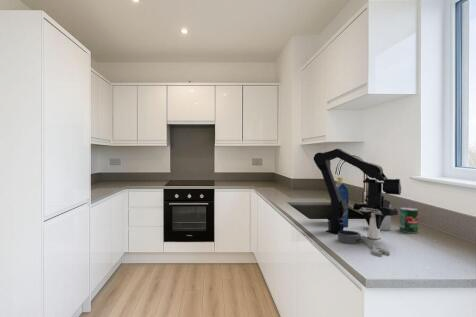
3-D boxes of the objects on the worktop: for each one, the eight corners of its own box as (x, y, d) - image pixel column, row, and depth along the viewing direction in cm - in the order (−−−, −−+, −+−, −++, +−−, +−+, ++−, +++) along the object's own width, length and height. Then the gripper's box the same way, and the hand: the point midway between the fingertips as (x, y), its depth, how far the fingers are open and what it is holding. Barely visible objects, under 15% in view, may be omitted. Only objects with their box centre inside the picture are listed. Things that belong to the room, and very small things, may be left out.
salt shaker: (369, 235, 142) (369, 211, 142) (382, 237, 139) (382, 212, 139) (366, 237, 138) (366, 212, 138) (379, 239, 135) (379, 214, 135)
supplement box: (391, 230, 152) (391, 204, 152) (375, 229, 154) (375, 204, 154) (387, 227, 160) (387, 202, 160) (371, 226, 161) (371, 202, 161)
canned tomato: (405, 228, 157) (405, 206, 157) (421, 231, 150) (421, 209, 150) (396, 230, 153) (396, 208, 153) (412, 233, 146) (412, 210, 146)
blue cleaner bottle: (336, 226, 160) (336, 178, 160) (331, 221, 172) (331, 176, 172) (348, 227, 160) (348, 178, 159) (342, 222, 172) (342, 176, 171)
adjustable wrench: (358, 239, 139) (358, 235, 139) (373, 239, 138) (373, 235, 138) (374, 256, 114) (374, 252, 114) (393, 257, 113) (393, 252, 113)
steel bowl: (333, 240, 135) (334, 232, 135) (347, 237, 139) (347, 229, 139) (350, 245, 127) (350, 236, 127) (364, 242, 132) (364, 233, 132)
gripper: (405, 194, 134) (405, 230, 135) (368, 190, 151) (368, 222, 151) (389, 196, 129) (389, 233, 129) (352, 191, 145) (352, 224, 145)
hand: (374, 228), depth 139 cm, fingers closed on salt shaker, 4 cm apart
